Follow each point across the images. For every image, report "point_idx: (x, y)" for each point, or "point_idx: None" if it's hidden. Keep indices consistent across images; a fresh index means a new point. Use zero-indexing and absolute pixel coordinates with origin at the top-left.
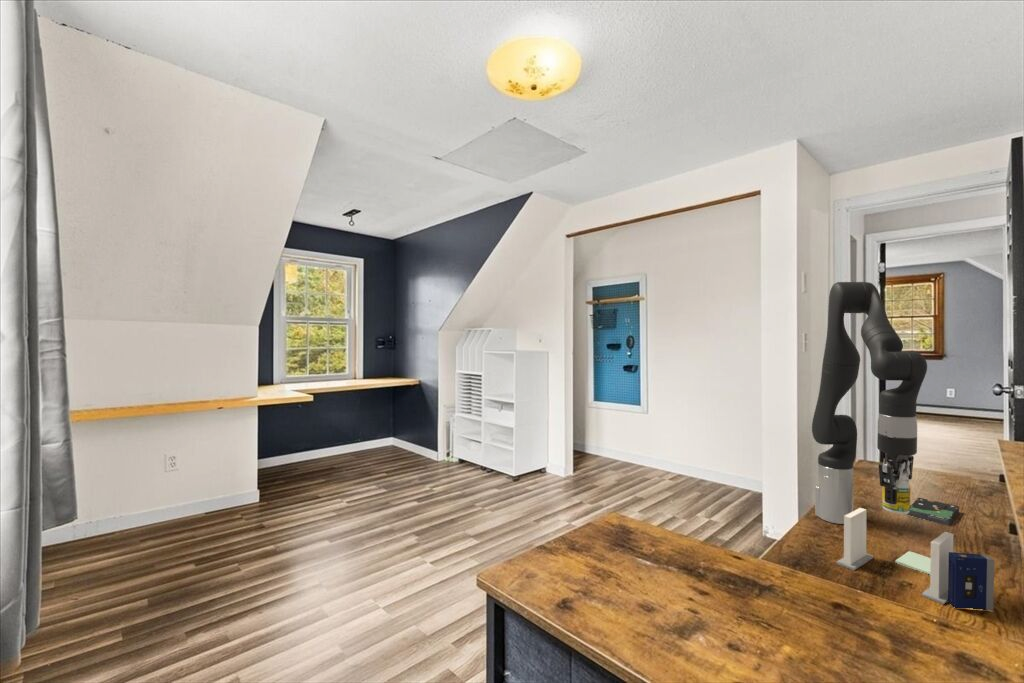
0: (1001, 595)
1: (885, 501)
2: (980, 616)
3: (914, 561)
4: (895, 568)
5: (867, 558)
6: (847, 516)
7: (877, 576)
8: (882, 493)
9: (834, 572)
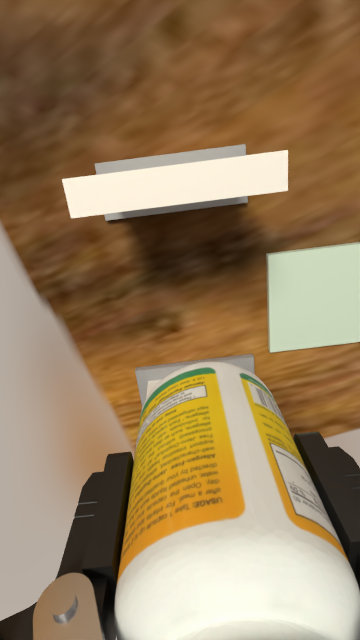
0: (294, 431)
1: (108, 456)
2: None
3: (310, 284)
4: (231, 270)
5: (210, 204)
6: (72, 196)
7: (136, 271)
8: (170, 437)
9: (37, 195)
